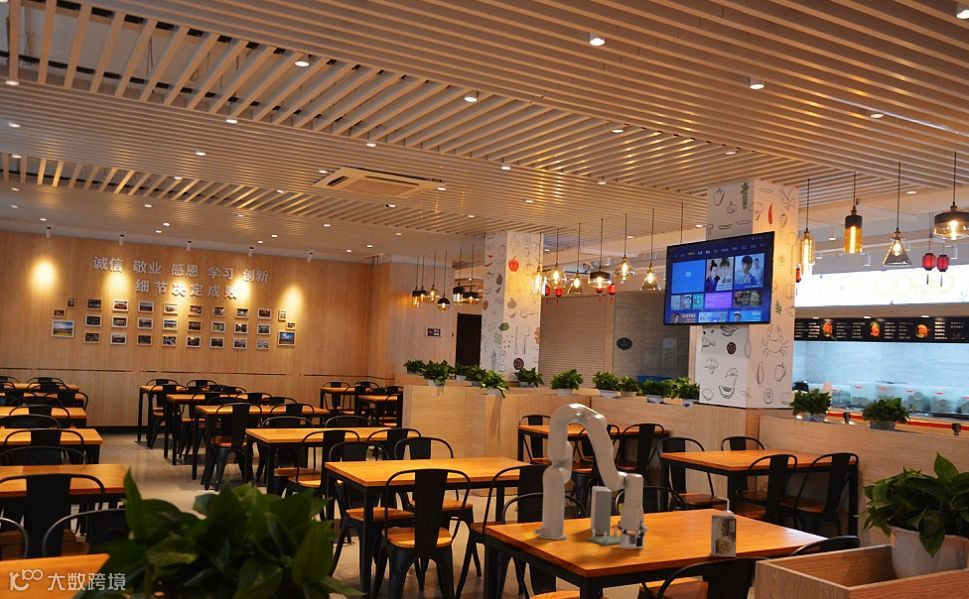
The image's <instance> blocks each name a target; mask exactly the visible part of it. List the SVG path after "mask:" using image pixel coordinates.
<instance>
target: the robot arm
mask: <svg viewBox="0 0 969 599" xmlns="http://www.w3.org/2000/svg"><path fill="white" fill-rule="evenodd" d="M573 423H575V424H578V425H581V426H582V427H584V429H585V431H586V434H587V436H588V438H589V441H590V444H591V446H592V449H593V451H594V454H595V459H596V463H597V464H596V465H597V467H598V471H599V474H600V476H601V480H602V481H603V484H604V487H607V488H608V489H609V490H611V491H612V492H617V491H619V490H621V489H624V499H623V502H624V503H625V504H624V503H623V504H624V505H623V508H622V512H621V515H620V520H618V521H617V526H618V528H619V531H620V534H622V533H627V531H628V530H629V531H630V532H632V533H636V534H637V536H638V537H637V538H636V547H642V543H643V537H644V538H645V535H646V533H647V532H648V529H649V528H648V527H647V526H646V524H645V516H644V515H645V514H644V508H643V495H644V494H643V491H644V490H643V489H644V477H643V476H642V475H641V474H638V473H628V472H627V473H626V472H623V471H618V469H617V468H616V464H615V461H614V460H615V459H614V451H615V450H614V444H613V442H612V440H611V437H610V435H609V433H608V430H607V428H608V420H607V419H606V417H605V416H604V415H603V414H602V413H598V412H597V411H595V410H593V409H591V408H589V407H587V406H585V405H582V404H581V403H577V402H575V403H567V404H563V405H560V406H559V407H557V408H555V410H554V411H553V412H552V414H551V416H550V419H549V424H548V425H549V427H548V436H547V437H548V438H547V449H546V454H547V457H548V459H549V461H551V465H549V466H548V467H547V468H546V469H545V470H544V472H543V475H542V485H543V486H542V487H543V497H542V518H541V519H542V522H541V525H540V526H539V528H534V529H533V532H532V533H533V534H535V535H537V536H538V538H541V539H545V540H553V541H556V540H557V541H559V540H560V541H561V540H565V539H567V537H568V536H567V534H565V533H564V524H565V504H566V503H565V502H566V500H565V499H566V498H565V497H566V494H565V484H566V483H568V482H569V481H570V479H571V478H572V470H573V456H574V455H573V454H574V452H573V451H574V450H573V446H572V444H571V443H570V441H568V435H569V429H568V428H569V427H568V426H569V424H573ZM629 531H628V532H629ZM639 533H640V534H639Z"/></svg>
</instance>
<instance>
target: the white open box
mask: <svg viewBox="0 0 969 599" xmlns="http://www.w3.org/2000/svg"><path fill="white" fill-rule="evenodd" d="M639 534H640V532H639ZM619 536H620V544H618V545H619V546H618V547H620V549H622V548H623V549H622V550H625V549H628V550H636V549H635V548H640V549H644V547H645V536H644V537H643V543H642V547H636V538H637V537H638V536H637V534H636V532H628V533H619Z"/></svg>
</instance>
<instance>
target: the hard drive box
mask: <svg viewBox="0 0 969 599" xmlns="http://www.w3.org/2000/svg"><path fill="white" fill-rule="evenodd" d="M612 494H613V491H611V490H609V489H608V488H607V487H606V486H595V485H593V486H592V488H591V505H590V506H591V509H590V530H591V532H592V533H593V529H595V536H596V535H600V536H604V533H607V536H611V535H610V534H611V522H612V521H611V520H612V519H611V517H612V515H611V514H612Z"/></svg>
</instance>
